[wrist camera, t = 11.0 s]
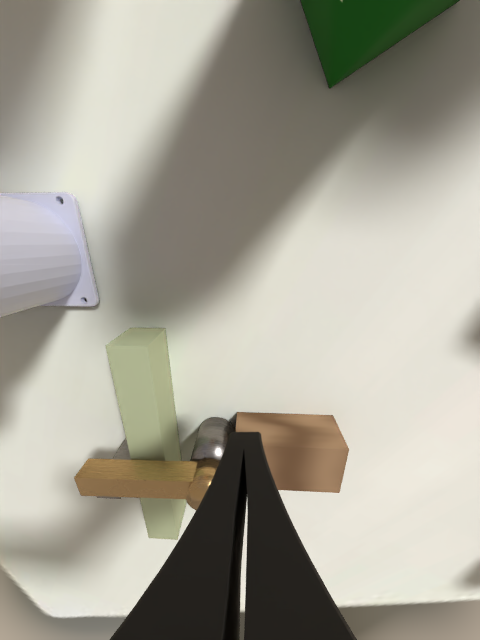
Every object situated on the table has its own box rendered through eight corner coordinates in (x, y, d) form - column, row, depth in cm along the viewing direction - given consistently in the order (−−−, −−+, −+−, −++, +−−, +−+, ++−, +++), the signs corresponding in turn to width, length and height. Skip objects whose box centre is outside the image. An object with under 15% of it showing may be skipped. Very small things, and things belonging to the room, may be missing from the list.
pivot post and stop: (128, 445, 23) (97, 497, 19) (121, 413, 22) (85, 461, 17) (235, 450, 23) (231, 504, 18) (235, 417, 21) (230, 467, 17)
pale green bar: (161, 501, 26) (148, 537, 23) (130, 327, 19) (105, 345, 15) (186, 502, 26) (177, 539, 23) (165, 328, 19) (147, 346, 15)
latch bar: (226, 458, 18) (223, 487, 16) (227, 483, 19) (224, 513, 17) (87, 455, 18) (66, 482, 16) (95, 478, 19) (76, 507, 17)
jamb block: (237, 451, 23) (234, 487, 19) (237, 412, 21) (234, 444, 18) (326, 454, 22) (339, 492, 19) (332, 415, 21) (349, 449, 17)
